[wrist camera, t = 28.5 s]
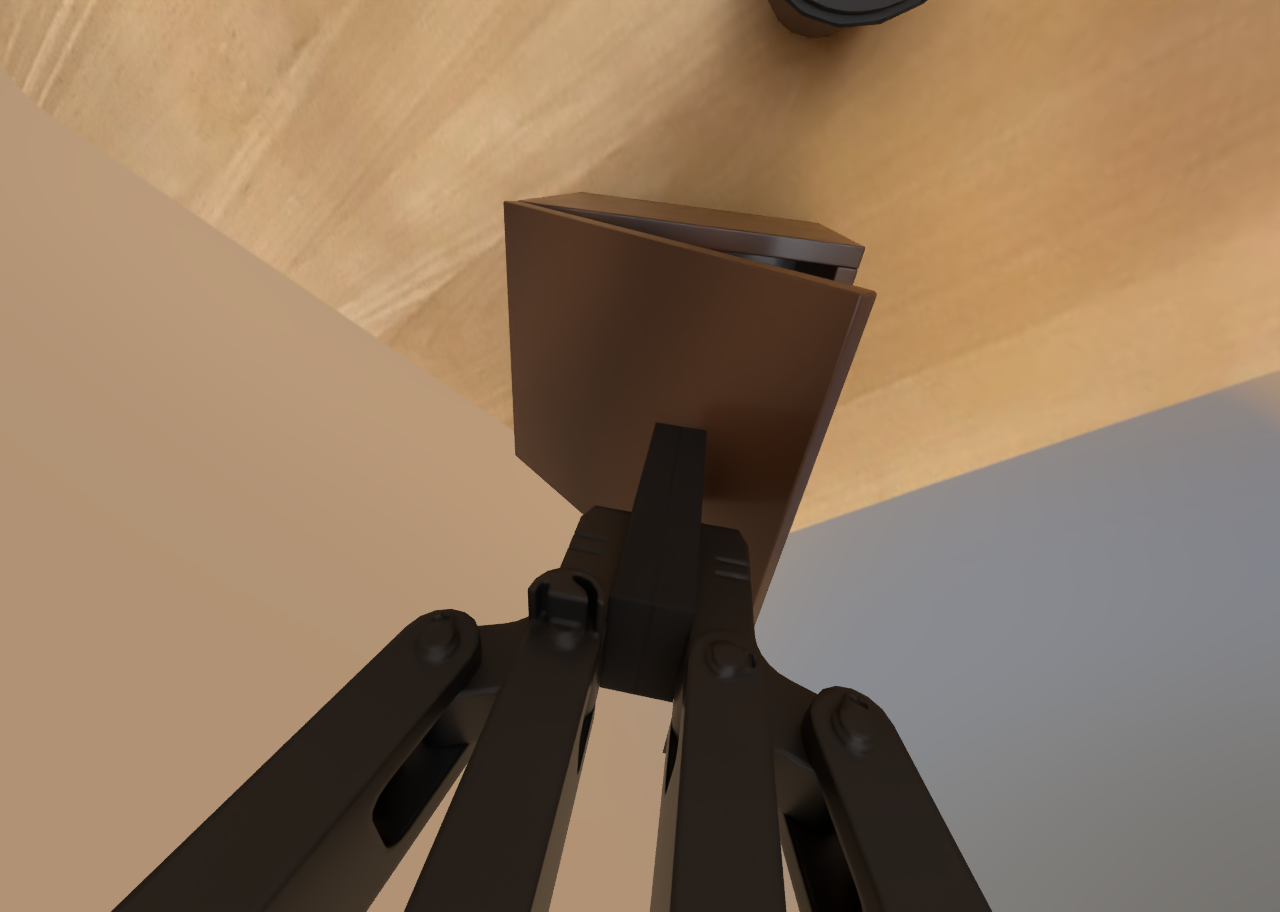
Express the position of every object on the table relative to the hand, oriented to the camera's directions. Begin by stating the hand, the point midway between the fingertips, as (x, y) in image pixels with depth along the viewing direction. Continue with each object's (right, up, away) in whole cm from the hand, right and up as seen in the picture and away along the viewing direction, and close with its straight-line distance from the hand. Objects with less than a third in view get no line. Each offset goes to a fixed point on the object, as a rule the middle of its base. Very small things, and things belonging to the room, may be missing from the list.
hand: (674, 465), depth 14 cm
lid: (-1, +2, +3) cm, 4 cm away
